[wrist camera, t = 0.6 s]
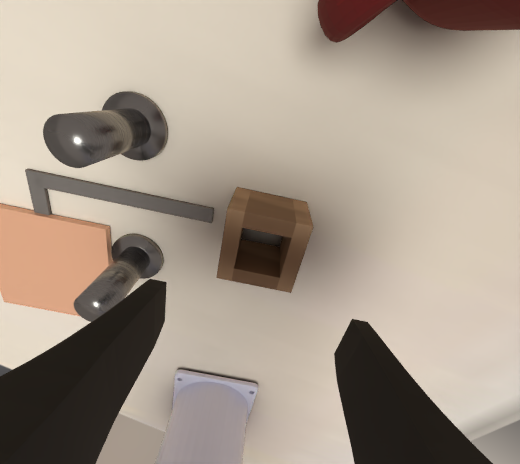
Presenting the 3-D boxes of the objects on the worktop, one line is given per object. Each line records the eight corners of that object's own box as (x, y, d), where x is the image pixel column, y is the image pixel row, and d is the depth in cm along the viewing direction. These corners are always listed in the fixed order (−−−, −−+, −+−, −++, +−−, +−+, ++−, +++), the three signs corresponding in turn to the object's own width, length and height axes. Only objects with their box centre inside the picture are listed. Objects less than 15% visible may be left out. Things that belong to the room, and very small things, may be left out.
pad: (116, 317, 22) (113, 322, 22) (9, 297, 22) (4, 301, 22) (109, 226, 18) (105, 229, 18) (-23, 199, 18) (-31, 201, 17)
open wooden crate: (288, 259, 19) (291, 292, 16) (226, 247, 18) (216, 277, 15) (306, 202, 17) (313, 226, 13) (236, 187, 16) (227, 208, 13)
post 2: (162, 279, 20) (126, 337, 15) (115, 270, 20) (63, 326, 15) (163, 239, 18) (123, 291, 14) (112, 229, 18) (53, 277, 13)
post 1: (166, 164, 16) (118, 194, 11) (107, 151, 16) (32, 176, 11) (168, 99, 14) (113, 102, 9) (103, 84, 14) (11, 79, 9)
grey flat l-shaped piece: (208, 252, 19) (207, 253, 19) (38, 217, 18) (36, 218, 18) (213, 208, 17) (213, 209, 17) (27, 168, 17) (25, 169, 16)
